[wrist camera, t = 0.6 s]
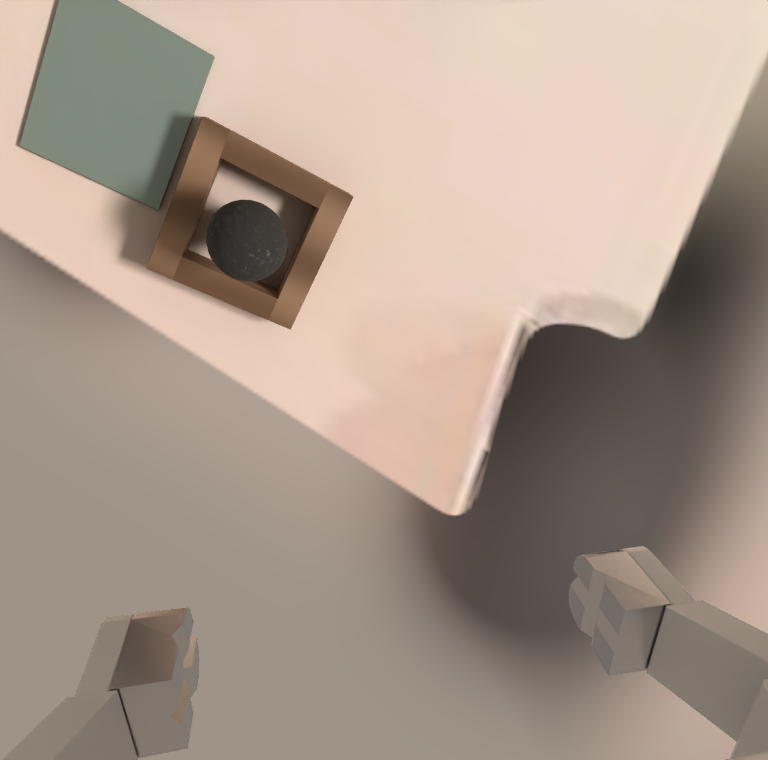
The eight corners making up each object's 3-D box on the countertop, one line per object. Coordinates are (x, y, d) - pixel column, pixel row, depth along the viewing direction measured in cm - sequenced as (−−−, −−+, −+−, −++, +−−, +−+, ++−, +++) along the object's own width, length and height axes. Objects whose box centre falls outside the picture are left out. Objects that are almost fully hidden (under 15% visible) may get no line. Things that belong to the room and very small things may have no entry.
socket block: (208, 117, 41) (202, 116, 38) (348, 193, 45) (353, 196, 42) (154, 260, 44) (146, 268, 42) (290, 318, 48) (290, 329, 46)
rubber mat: (69, -27, 36) (67, -29, 36) (214, 57, 39) (214, 56, 39) (21, 145, 39) (19, 146, 39) (158, 209, 43) (158, 210, 42)
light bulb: (289, 196, 44) (291, 210, 35) (284, 264, 46) (285, 294, 37) (218, 186, 43) (201, 198, 34) (216, 256, 45) (200, 286, 36)
